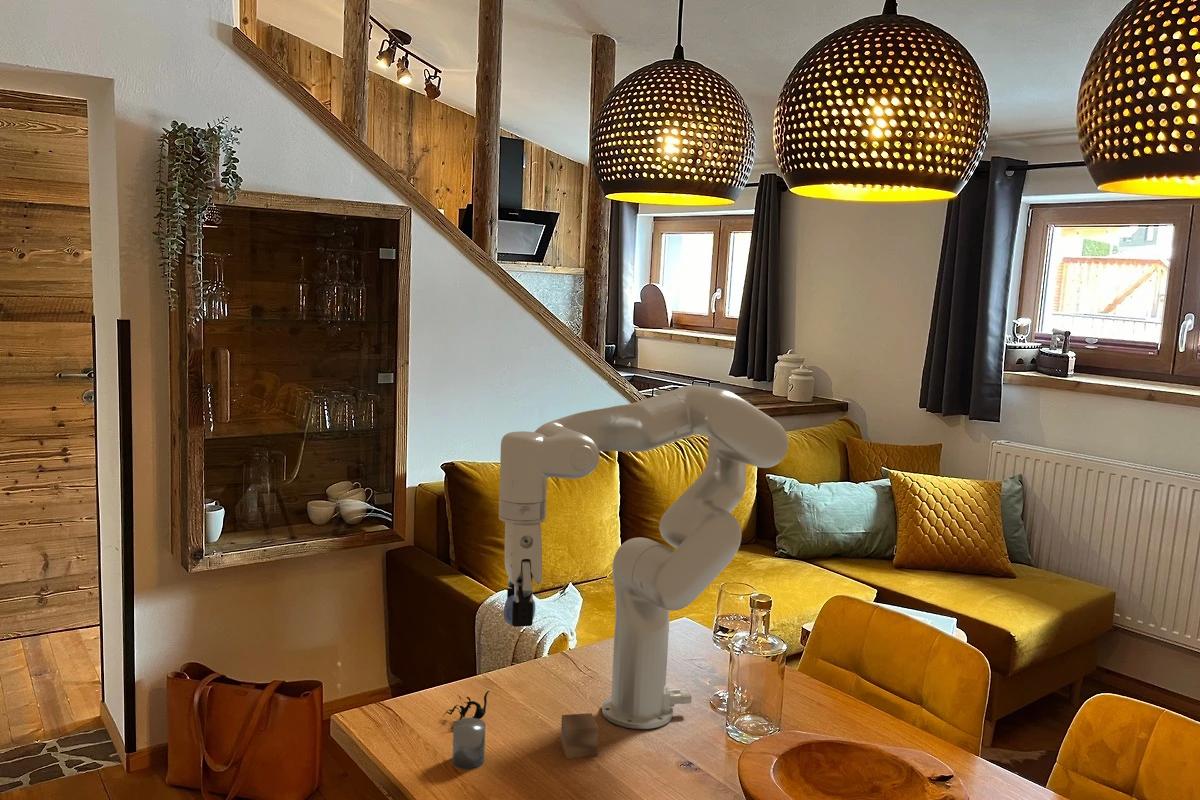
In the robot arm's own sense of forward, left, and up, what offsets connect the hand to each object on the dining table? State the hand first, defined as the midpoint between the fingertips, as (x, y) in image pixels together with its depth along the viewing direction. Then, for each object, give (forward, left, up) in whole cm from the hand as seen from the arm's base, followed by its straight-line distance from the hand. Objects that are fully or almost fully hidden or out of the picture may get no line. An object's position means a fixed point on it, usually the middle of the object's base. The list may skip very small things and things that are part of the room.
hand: (519, 617), depth 152 cm
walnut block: (-10, +4, -21) cm, 24 cm away
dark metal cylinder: (+8, +5, -21) cm, 23 cm away
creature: (+8, -8, -22) cm, 25 cm away
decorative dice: (0, 0, -1) cm, 1 cm away
